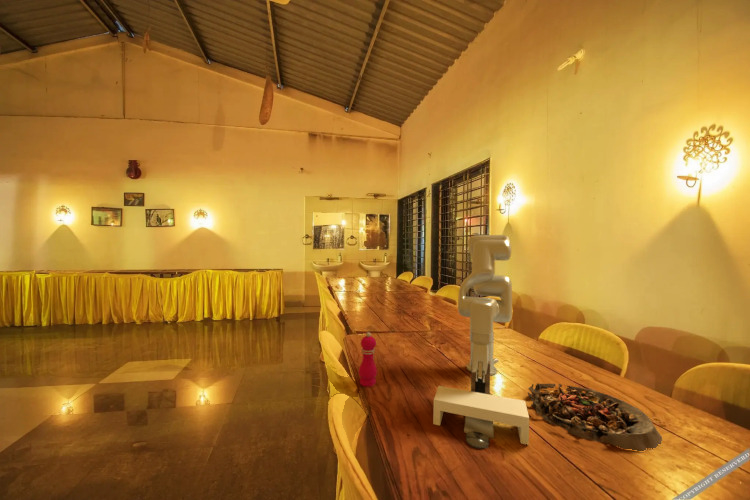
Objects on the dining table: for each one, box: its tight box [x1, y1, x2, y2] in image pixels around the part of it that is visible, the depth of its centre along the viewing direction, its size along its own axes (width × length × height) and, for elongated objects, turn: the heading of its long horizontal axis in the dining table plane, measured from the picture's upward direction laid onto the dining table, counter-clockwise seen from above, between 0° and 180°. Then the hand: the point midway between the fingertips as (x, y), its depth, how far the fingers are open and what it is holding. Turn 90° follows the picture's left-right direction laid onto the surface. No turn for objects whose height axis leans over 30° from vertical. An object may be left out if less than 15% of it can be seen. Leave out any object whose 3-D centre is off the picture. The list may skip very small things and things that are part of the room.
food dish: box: [527, 382, 663, 451], centre depth 97 cm, size 35×33×8 cm
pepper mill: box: [358, 331, 378, 388], centre depth 118 cm, size 7×7×20 cm
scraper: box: [463, 361, 495, 439], centre depth 95 cm, size 20×8×15 cm, turn 160°
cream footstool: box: [432, 385, 530, 446], centre depth 91 cm, size 10×26×8 cm, turn 70°
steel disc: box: [465, 431, 490, 450], centre depth 83 cm, size 6×6×1 cm
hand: (480, 390), depth 103 cm, fingers closed on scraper, 3 cm apart
